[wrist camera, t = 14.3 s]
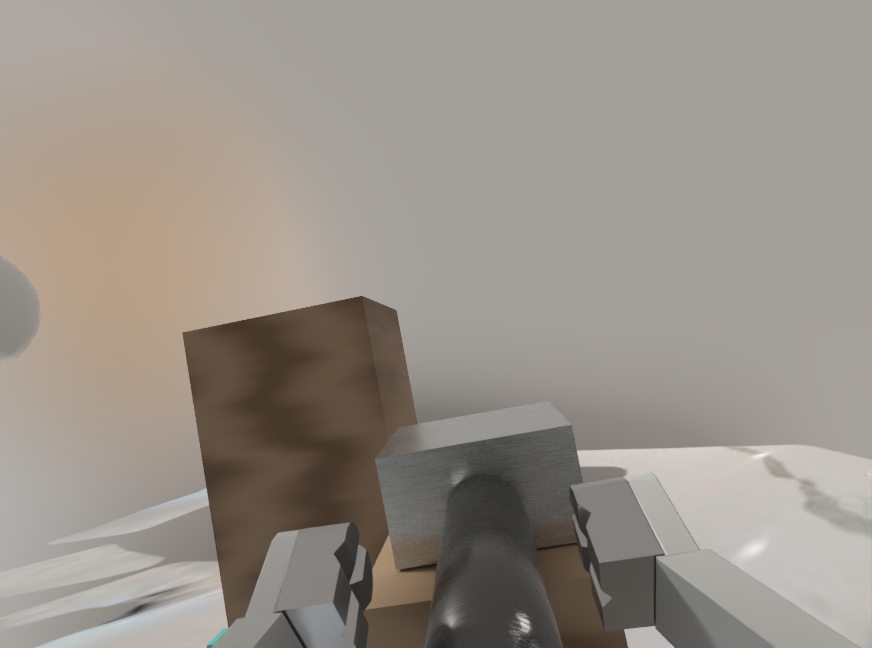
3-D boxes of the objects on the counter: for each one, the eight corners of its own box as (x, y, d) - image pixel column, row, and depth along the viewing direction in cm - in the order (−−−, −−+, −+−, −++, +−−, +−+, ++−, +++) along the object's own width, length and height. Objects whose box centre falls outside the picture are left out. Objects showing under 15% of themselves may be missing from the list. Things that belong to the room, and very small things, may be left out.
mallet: (223, 1101, 5) (159, 745, 5) (414, 512, 21) (398, 427, 21) (884, 1065, 5) (801, 664, 5) (565, 488, 21) (548, 400, 21)
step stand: (125, 1153, 14) (14, 325, 16) (327, 691, 33) (267, 336, 35) (726, 1124, 13) (537, 214, 14) (578, 658, 32) (504, 288, 33)
